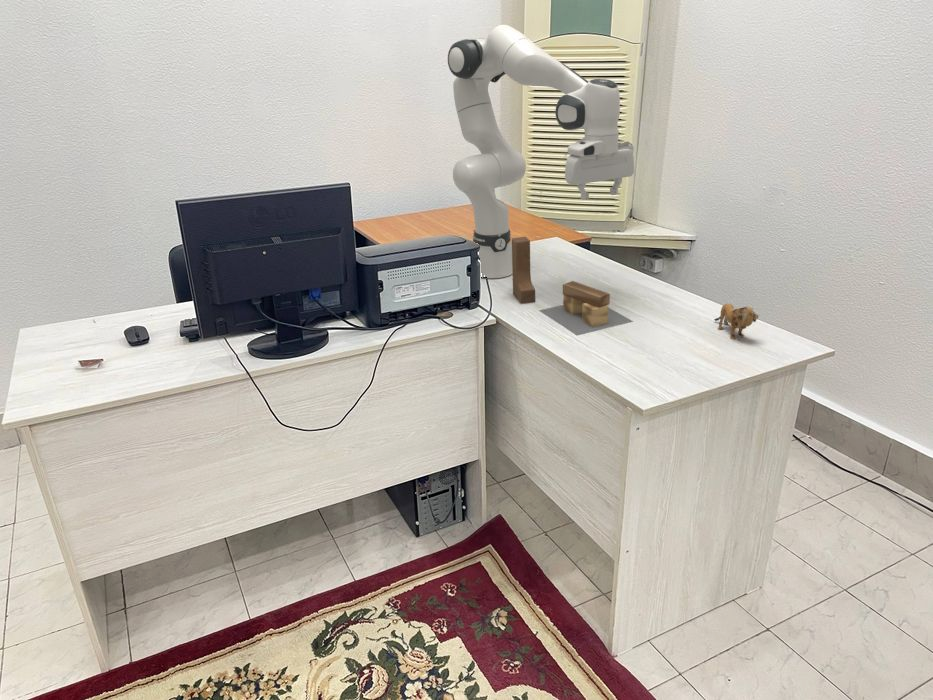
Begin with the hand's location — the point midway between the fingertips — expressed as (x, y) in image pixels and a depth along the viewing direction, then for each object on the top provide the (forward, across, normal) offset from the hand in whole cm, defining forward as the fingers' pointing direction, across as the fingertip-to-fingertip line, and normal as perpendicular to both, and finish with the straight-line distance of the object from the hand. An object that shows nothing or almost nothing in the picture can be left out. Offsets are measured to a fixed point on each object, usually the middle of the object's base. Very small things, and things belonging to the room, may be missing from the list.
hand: (599, 196), depth 186 cm
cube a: (+31, +9, +3) cm, 32 cm away
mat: (+31, +9, +8) cm, 33 cm away
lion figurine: (+31, -18, +36) cm, 51 cm away
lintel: (+26, +9, +8) cm, 28 cm away
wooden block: (+31, +17, -13) cm, 38 cm away
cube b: (+31, +9, +13) cm, 34 cm away
